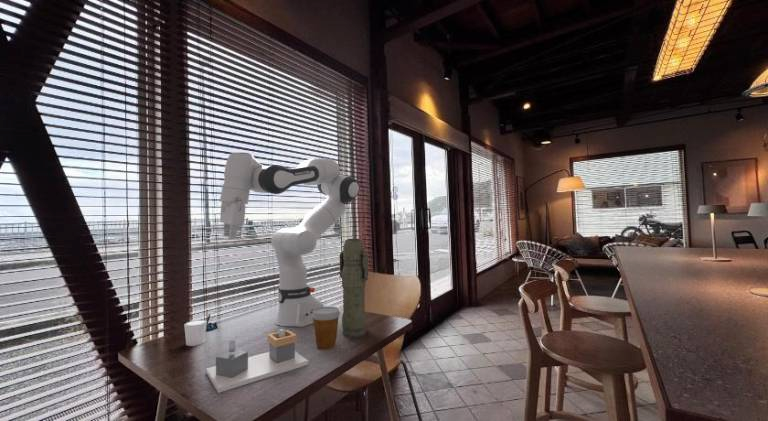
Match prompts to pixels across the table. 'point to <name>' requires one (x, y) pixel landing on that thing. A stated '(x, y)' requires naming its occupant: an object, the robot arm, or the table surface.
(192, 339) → the white cup
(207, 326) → the bird
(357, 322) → the thermos
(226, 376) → the jig plate
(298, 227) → the robot arm
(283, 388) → the table surface
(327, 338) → the disposable coffee cup
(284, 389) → the table surface
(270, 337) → the ring
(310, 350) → the table surface
